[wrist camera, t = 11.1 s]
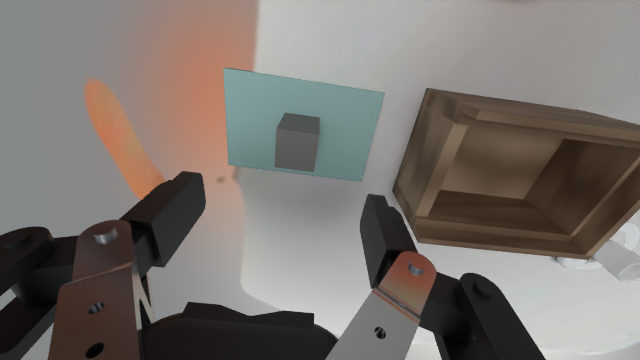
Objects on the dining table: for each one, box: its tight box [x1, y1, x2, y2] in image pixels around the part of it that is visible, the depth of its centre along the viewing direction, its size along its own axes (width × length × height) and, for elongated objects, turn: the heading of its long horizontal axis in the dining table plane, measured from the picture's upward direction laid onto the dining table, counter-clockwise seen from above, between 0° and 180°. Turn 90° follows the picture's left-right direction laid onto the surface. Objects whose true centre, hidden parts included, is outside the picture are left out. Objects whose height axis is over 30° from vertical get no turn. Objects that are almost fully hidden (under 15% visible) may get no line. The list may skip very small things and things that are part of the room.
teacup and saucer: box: [557, 222, 640, 282], centre depth 27 cm, size 9×8×4 cm
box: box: [393, 88, 640, 260], centre depth 19 cm, size 10×14×7 cm
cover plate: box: [224, 67, 385, 182], centre depth 19 cm, size 8×13×5 cm, turn 82°
